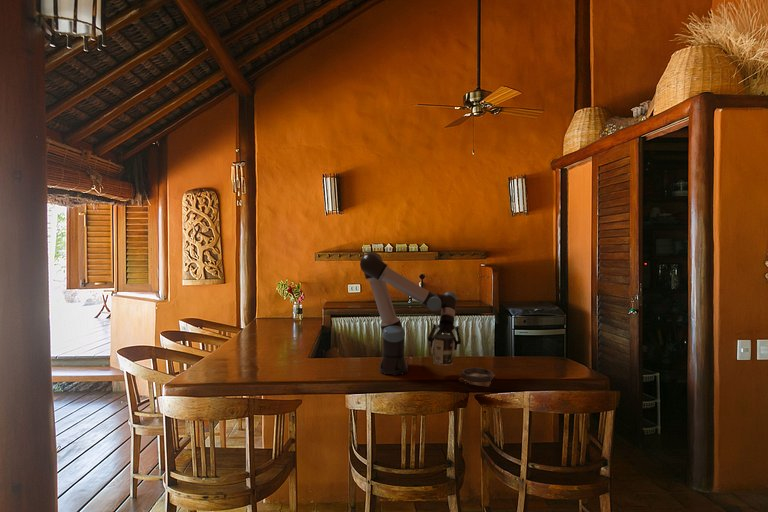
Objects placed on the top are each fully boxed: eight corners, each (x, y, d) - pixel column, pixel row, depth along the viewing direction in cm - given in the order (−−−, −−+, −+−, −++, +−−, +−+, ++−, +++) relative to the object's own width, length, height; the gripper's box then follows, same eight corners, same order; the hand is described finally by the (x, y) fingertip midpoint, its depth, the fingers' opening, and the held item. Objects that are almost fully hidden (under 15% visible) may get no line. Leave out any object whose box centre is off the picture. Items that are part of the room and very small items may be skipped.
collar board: (458, 382, 238) (458, 374, 237) (466, 373, 251) (466, 366, 251) (488, 386, 231) (488, 378, 231) (495, 377, 245) (495, 370, 245)
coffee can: (453, 360, 253) (454, 334, 251) (452, 366, 242) (453, 339, 241) (434, 359, 255) (434, 333, 254) (432, 364, 245) (432, 337, 243)
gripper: (468, 323, 259) (464, 359, 245) (427, 320, 265) (421, 355, 251) (468, 315, 254) (464, 352, 240) (426, 312, 259) (420, 348, 245)
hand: (442, 353), depth 245 cm, fingers closed on coffee can, 10 cm apart
